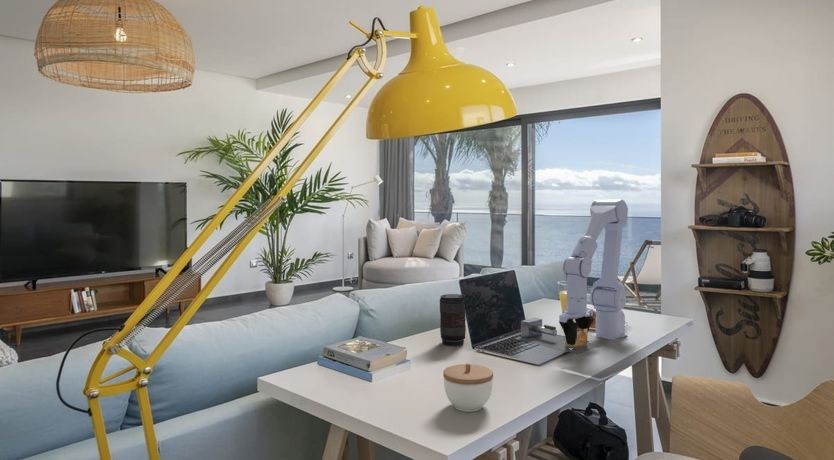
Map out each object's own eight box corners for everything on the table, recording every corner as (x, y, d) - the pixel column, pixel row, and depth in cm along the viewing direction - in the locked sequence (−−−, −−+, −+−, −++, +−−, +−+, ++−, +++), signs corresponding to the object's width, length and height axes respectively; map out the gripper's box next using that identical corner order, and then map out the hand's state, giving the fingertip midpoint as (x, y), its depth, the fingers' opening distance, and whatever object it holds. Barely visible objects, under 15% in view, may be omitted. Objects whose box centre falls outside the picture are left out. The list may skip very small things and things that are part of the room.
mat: (539, 333, 179) (539, 331, 179) (601, 347, 161) (601, 345, 161) (513, 340, 171) (513, 338, 171) (576, 355, 153) (576, 353, 153)
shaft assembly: (534, 333, 177) (534, 317, 176) (561, 339, 169) (561, 323, 168) (521, 337, 172) (521, 320, 172) (548, 343, 164) (548, 326, 164)
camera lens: (466, 339, 172) (465, 293, 171) (465, 347, 164) (465, 298, 163) (440, 339, 172) (440, 293, 172) (439, 346, 164) (438, 297, 164)
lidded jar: (459, 394, 124) (459, 354, 124) (501, 403, 118) (501, 361, 118) (434, 409, 116) (433, 366, 115) (478, 420, 110) (478, 375, 109)
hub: (575, 343, 164) (575, 325, 164) (587, 346, 161) (587, 328, 161) (565, 346, 160) (565, 328, 160) (576, 349, 157) (577, 331, 157)
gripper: (574, 302, 152) (573, 349, 153) (602, 295, 161) (601, 340, 162) (553, 298, 157) (553, 344, 158) (581, 292, 167) (581, 336, 168)
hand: (576, 342), depth 161 cm, fingers closed on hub, 5 cm apart
